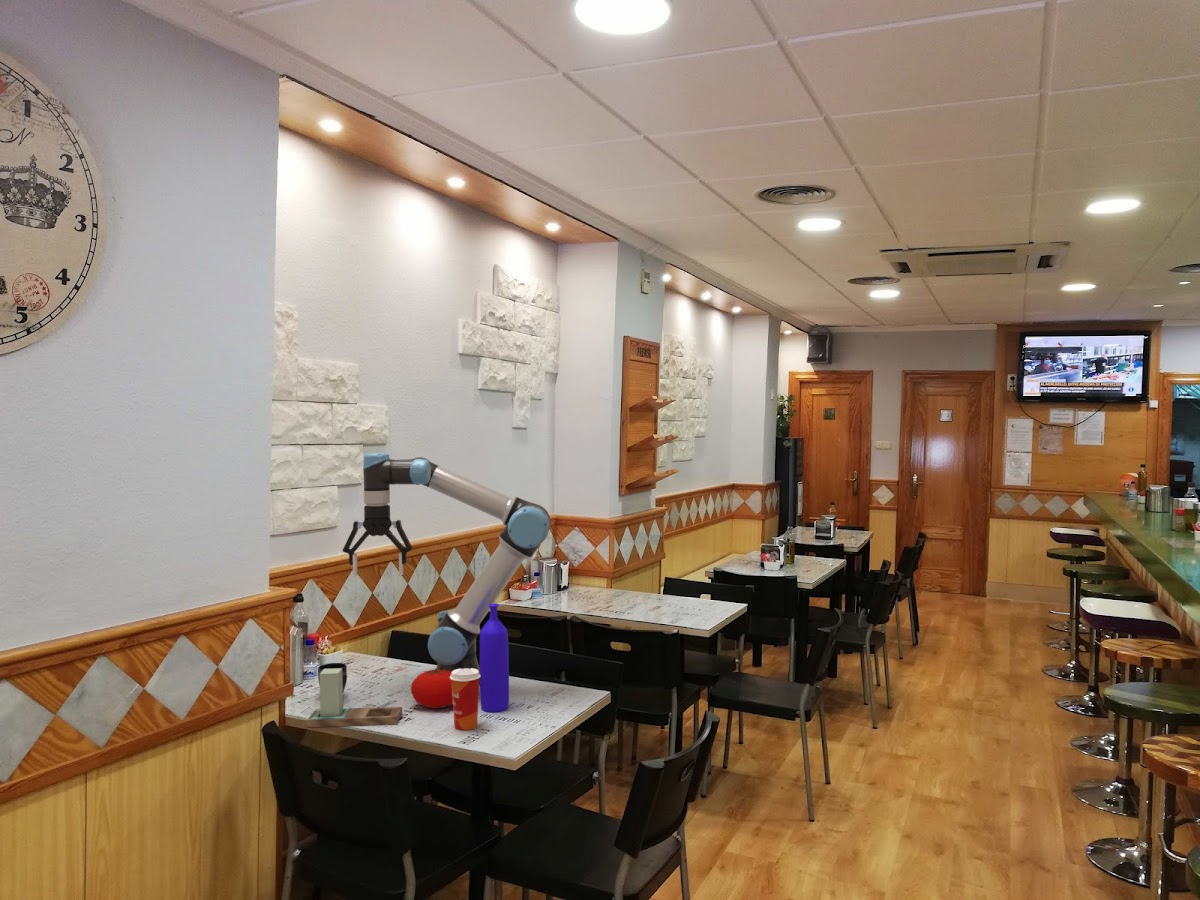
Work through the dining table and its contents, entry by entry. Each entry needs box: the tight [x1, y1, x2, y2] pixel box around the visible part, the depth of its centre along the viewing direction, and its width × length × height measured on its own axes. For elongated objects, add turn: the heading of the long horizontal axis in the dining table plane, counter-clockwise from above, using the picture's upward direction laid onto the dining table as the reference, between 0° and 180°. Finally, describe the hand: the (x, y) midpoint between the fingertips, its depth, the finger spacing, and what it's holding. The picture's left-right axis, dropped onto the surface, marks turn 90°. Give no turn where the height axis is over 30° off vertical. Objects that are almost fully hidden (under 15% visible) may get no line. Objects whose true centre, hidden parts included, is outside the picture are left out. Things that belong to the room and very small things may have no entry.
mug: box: [317, 662, 348, 694], centre depth 265 cm, size 8×12×10 cm
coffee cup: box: [450, 668, 480, 731], centre depth 239 cm, size 8×8×15 cm
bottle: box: [479, 603, 510, 713], centre depth 254 cm, size 8×8×30 cm
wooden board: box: [306, 706, 403, 728], centre depth 245 cm, size 24×9×2 cm, turn 94°
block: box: [319, 668, 344, 717], centre depth 245 cm, size 5×5×14 cm
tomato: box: [410, 668, 453, 709], centre depth 258 cm, size 14×13×10 cm
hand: (378, 575), depth 265 cm, fingers open, 13 cm apart
